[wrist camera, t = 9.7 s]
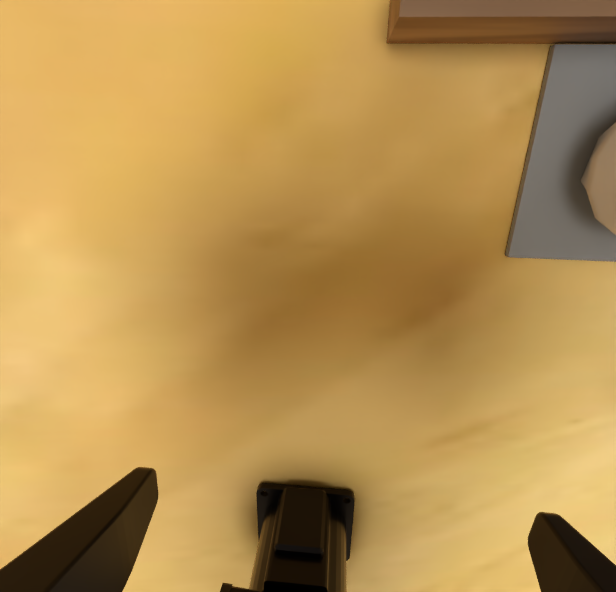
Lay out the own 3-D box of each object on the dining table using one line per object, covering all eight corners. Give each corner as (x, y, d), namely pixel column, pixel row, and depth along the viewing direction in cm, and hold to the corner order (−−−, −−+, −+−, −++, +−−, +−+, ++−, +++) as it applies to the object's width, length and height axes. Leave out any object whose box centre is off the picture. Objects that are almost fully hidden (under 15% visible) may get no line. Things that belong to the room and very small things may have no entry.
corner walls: (664, 410, 22) (729, 466, 18) (358, 391, 23) (361, 439, 19) (852, -4, 15) (1023, -50, 11) (390, -1, 16) (404, -41, 12)
